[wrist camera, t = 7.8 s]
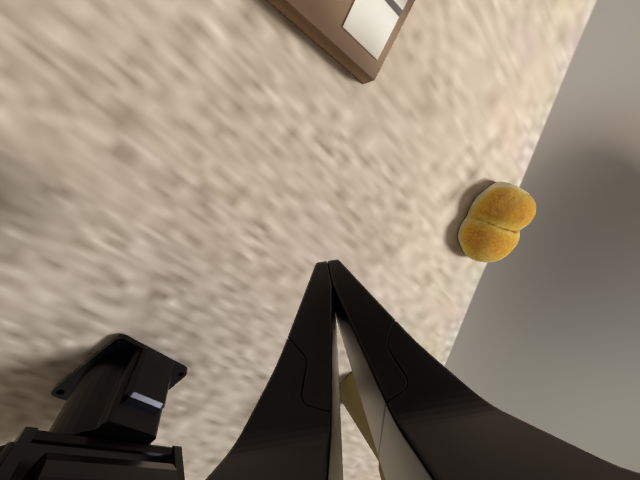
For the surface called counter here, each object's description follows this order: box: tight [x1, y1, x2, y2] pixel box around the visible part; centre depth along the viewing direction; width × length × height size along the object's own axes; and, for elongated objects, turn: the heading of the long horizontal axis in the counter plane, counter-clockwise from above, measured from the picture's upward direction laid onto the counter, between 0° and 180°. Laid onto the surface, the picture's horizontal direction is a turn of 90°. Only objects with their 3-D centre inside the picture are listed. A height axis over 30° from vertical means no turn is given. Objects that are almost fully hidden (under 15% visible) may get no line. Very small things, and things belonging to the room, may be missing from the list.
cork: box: [339, 372, 385, 480], centre depth 27 cm, size 6×6×11 cm
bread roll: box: [458, 182, 536, 262], centre depth 27 cm, size 8×9×4 cm
